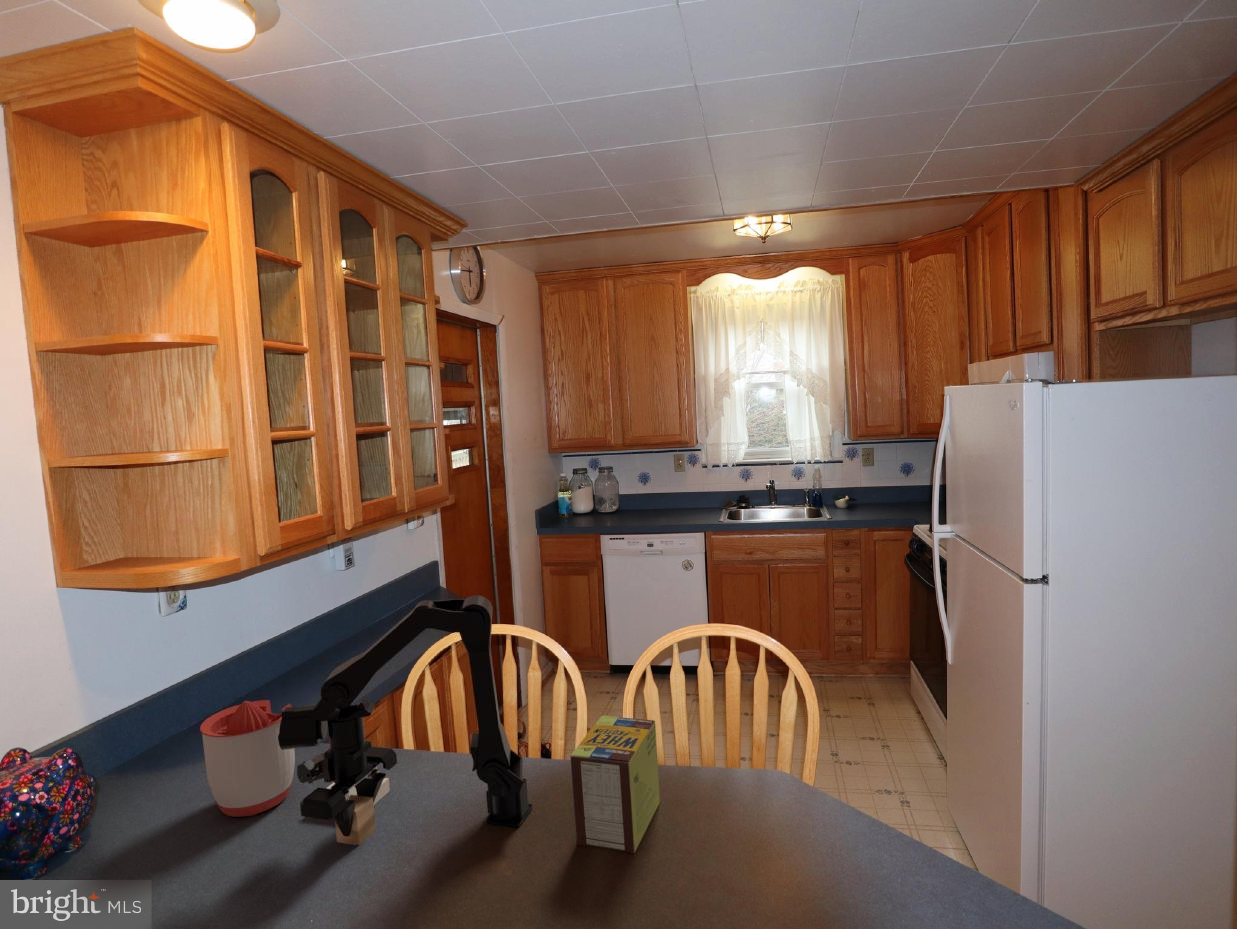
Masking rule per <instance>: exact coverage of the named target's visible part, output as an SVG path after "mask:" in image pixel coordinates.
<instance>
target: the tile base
mask: <svg viewBox="0 0 1237 929" xmlns="http://www.w3.org/2000/svg"><path fill="white" fill-rule="evenodd" d="M334 784H335V783H334V782H333V783H332V782H331V784H330V785H328V786H327V787H326V788H327V789H331V787H332V786H333V785H334ZM390 791H391V789H390V778H388V777H385V778H384V779H383V782H382V784H381V786H380V789H379V791H378V793H377V796H376V798H375V801H374V804H373V806H375V805H376V804H377V802H379V801H380V800H381V799H383V797H385V796H386V795H387V794H388V793H389V792H390ZM350 795H357V792H356V788H355V787H353V788H352V789H350V790H349V796H350Z"/></svg>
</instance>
